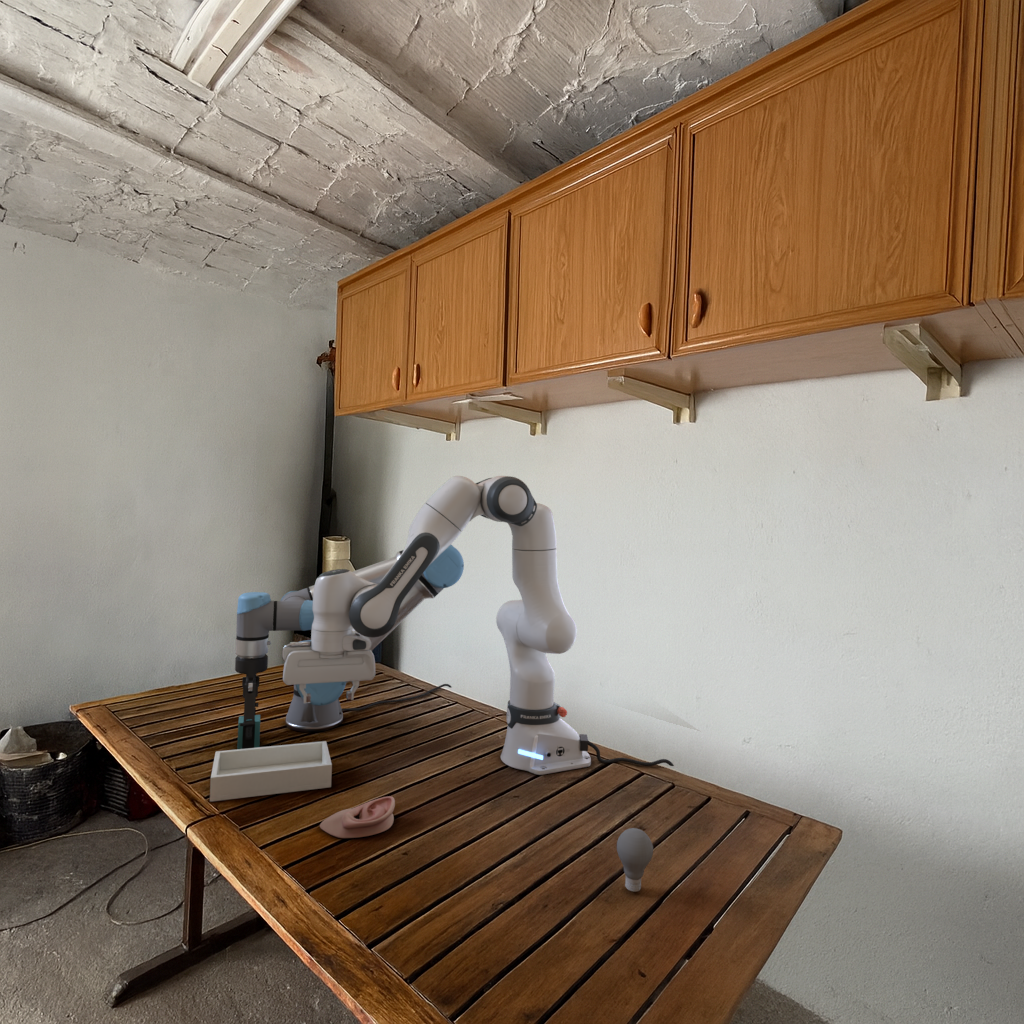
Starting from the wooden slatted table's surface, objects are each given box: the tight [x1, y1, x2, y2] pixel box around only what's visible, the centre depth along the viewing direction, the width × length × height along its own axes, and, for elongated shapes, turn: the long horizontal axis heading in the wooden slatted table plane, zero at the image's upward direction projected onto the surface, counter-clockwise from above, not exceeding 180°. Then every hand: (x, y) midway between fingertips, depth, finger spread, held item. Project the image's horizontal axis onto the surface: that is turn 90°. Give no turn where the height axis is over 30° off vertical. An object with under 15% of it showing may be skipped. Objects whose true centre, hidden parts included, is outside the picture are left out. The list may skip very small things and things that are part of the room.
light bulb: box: [616, 827, 654, 893], centre depth 106 cm, size 6×6×10 cm
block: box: [236, 714, 261, 750], centre depth 158 cm, size 5×5×7 cm
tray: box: [209, 740, 333, 802], centre depth 140 cm, size 24×14×5 cm, turn 111°
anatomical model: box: [319, 795, 396, 839], centre depth 123 cm, size 13×4×12 cm
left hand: (248, 742), depth 158 cm, fingers open, 11 cm apart
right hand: (328, 701), depth 144 cm, fingers open, 8 cm apart
